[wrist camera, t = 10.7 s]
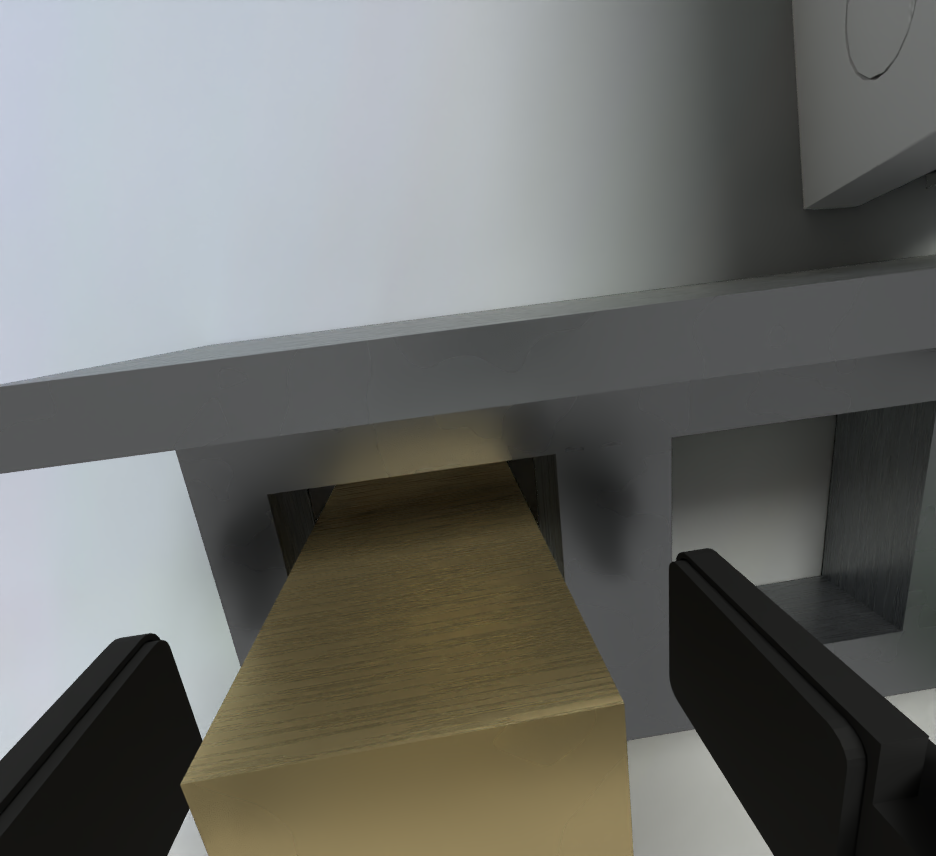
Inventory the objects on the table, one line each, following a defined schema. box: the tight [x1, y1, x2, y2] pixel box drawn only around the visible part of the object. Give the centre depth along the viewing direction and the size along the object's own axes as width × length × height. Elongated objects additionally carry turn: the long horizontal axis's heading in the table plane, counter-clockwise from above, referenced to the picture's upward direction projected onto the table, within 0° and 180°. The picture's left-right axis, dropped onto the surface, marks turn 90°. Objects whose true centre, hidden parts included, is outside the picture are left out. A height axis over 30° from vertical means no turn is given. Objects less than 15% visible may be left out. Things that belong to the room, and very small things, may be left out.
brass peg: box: [180, 461, 633, 856], centre depth 9 cm, size 4×4×8 cm
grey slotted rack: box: [0, 255, 936, 741], centre depth 10 cm, size 26×11×6 cm, turn 97°
